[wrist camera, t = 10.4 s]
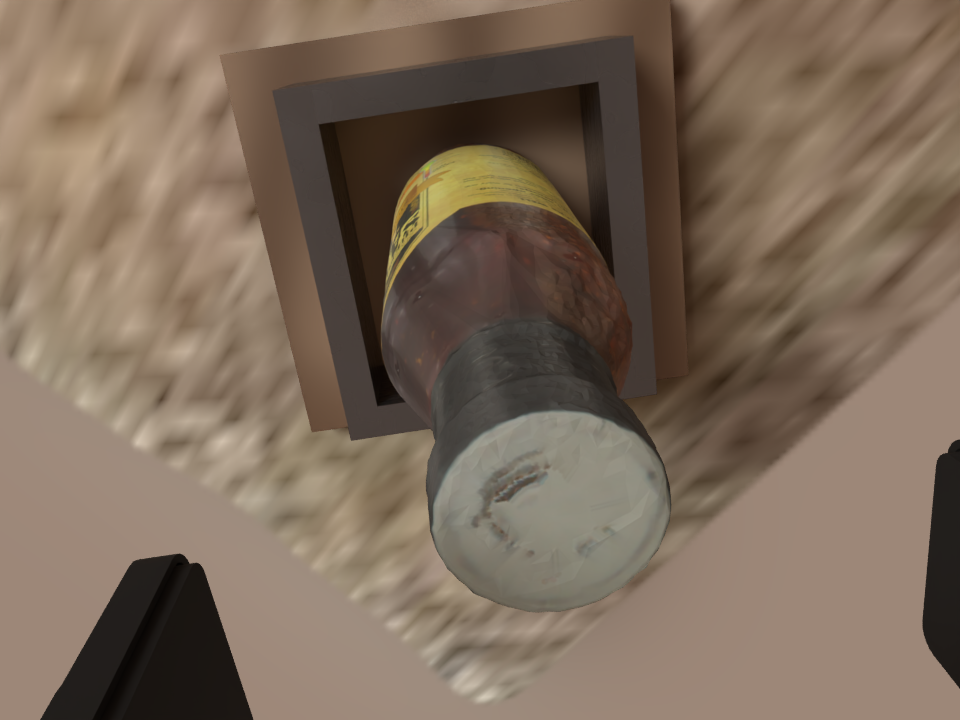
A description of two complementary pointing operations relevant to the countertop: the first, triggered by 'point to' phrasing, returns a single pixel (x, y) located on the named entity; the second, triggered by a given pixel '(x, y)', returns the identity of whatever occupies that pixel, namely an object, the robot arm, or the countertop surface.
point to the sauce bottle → (519, 385)
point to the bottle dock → (443, 124)
